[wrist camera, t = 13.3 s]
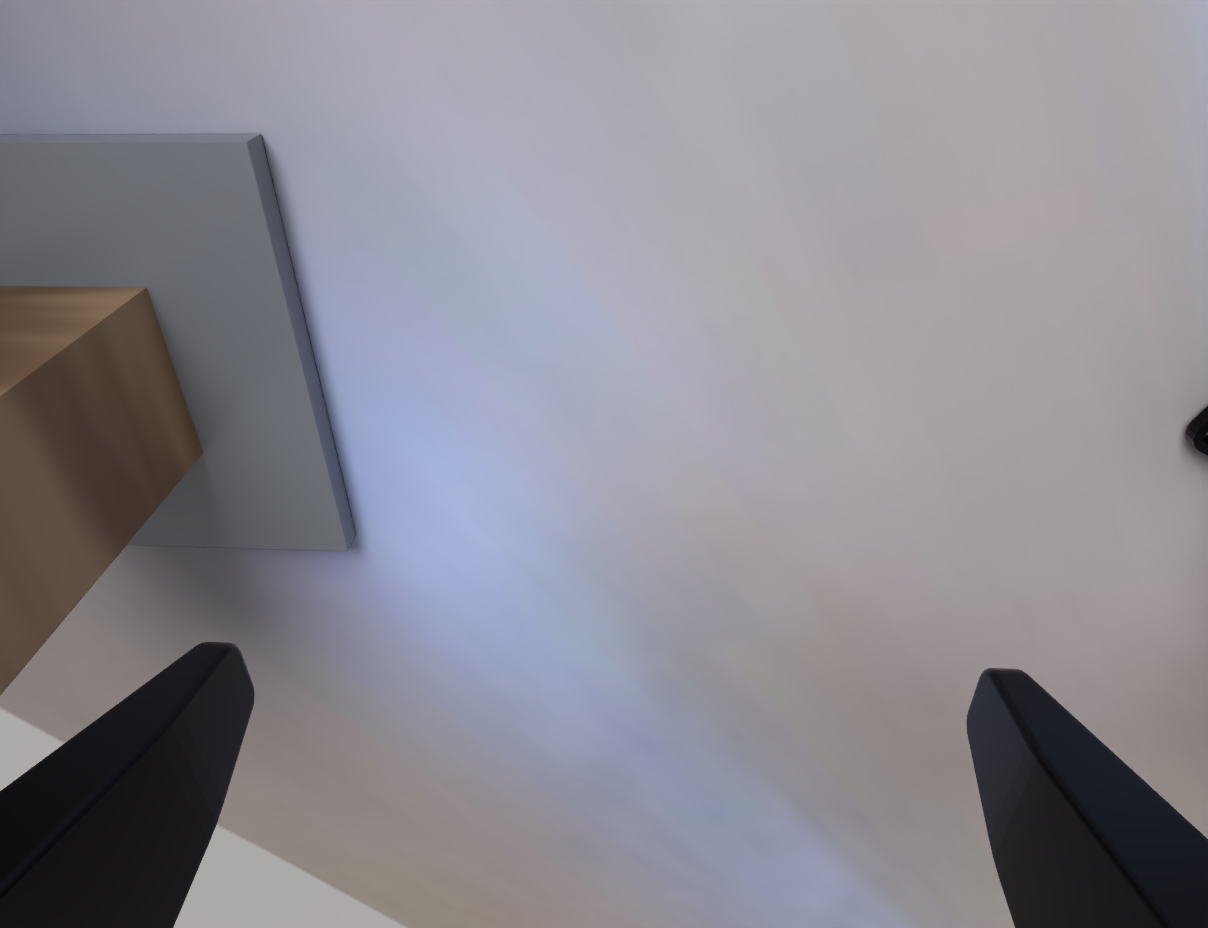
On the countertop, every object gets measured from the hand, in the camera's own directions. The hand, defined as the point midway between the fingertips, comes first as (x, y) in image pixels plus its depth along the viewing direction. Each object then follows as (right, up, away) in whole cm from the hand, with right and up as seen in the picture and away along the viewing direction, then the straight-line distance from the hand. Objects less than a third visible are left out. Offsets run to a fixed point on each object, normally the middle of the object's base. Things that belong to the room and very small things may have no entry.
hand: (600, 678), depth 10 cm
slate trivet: (-14, +5, +13) cm, 20 cm away
